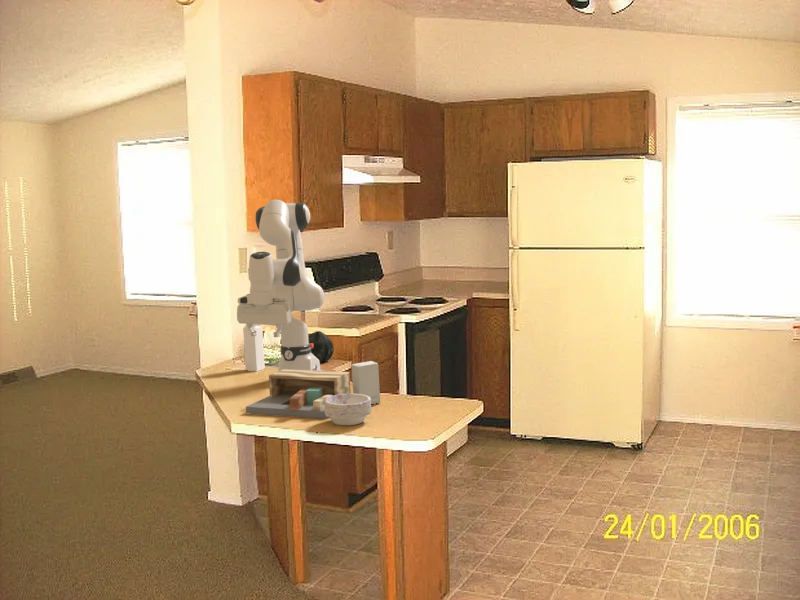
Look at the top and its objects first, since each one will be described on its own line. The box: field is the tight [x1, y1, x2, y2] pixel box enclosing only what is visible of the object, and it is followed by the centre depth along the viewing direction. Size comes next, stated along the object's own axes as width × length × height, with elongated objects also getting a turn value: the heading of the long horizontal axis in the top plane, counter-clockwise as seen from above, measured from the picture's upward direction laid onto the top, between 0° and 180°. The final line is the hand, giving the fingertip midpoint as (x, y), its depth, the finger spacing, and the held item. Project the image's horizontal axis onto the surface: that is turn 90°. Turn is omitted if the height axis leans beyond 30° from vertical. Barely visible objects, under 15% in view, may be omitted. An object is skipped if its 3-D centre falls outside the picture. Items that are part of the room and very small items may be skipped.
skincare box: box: [351, 360, 381, 405], centre depth 304 cm, size 8×6×15 cm
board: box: [245, 391, 335, 420], centre depth 304 cm, size 26×31×2 cm
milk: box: [242, 324, 266, 372], centre depth 375 cm, size 6×6×22 cm
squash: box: [308, 330, 335, 363], centre depth 389 cm, size 14×15×15 cm
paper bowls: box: [324, 393, 372, 426], centre depth 281 cm, size 15×15×8 cm
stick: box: [313, 395, 333, 410], centre depth 293 cm, size 10×2×3 cm, turn 159°
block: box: [306, 388, 322, 403], centre depth 300 cm, size 4×4×4 cm
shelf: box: [268, 369, 352, 397], centre depth 311 cm, size 11×27×8 cm, turn 69°
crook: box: [289, 388, 325, 410], centre depth 297 cm, size 16×8×4 cm, turn 170°
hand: (265, 336), depth 307 cm, fingers open, 8 cm apart
